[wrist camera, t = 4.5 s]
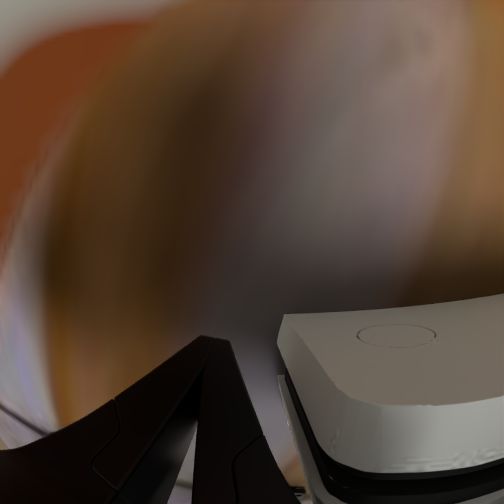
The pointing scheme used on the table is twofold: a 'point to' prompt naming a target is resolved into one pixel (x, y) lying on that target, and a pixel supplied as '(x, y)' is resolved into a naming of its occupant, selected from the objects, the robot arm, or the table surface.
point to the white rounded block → (398, 402)
